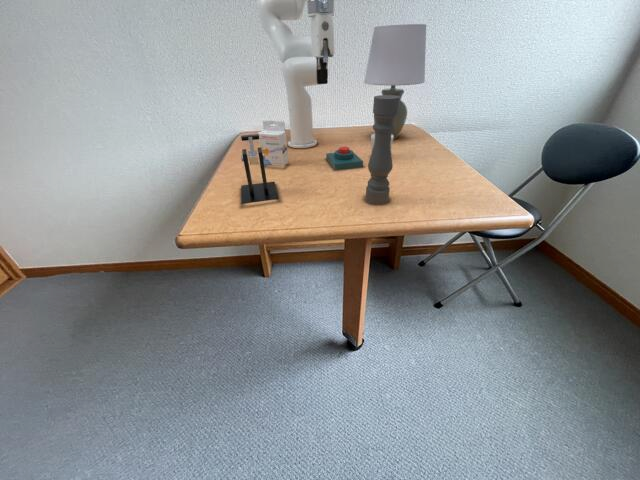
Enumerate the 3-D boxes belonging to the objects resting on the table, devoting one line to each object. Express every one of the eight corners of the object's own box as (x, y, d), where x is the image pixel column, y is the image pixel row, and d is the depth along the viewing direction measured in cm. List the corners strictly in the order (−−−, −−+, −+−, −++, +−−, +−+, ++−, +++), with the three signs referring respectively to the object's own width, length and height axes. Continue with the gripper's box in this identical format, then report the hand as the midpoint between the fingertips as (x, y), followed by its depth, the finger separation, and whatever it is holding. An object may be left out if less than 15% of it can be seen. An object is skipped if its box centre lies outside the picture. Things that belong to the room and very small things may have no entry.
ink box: (261, 167, 98) (255, 123, 90) (268, 162, 102) (262, 120, 93) (283, 169, 96) (278, 124, 87) (289, 164, 100) (285, 120, 91)
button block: (326, 159, 103) (326, 148, 101) (351, 156, 105) (352, 145, 102) (335, 170, 93) (335, 158, 91) (362, 167, 95) (363, 155, 93)
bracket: (241, 189, 83) (232, 146, 76) (274, 185, 85) (269, 142, 78) (242, 207, 74) (231, 160, 66) (279, 202, 75) (273, 155, 68)
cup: (391, 164, 96) (394, 141, 92) (368, 163, 98) (369, 140, 93) (391, 154, 105) (393, 132, 100) (369, 153, 106) (371, 132, 102)
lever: (242, 140, 80) (240, 133, 78) (259, 139, 81) (258, 131, 79) (244, 165, 73) (243, 157, 71) (263, 163, 73) (262, 155, 72)
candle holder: (363, 195, 77) (369, 95, 63) (384, 193, 78) (396, 94, 63) (368, 205, 72) (376, 99, 58) (391, 203, 73) (405, 98, 58)
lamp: (375, 128, 139) (383, 28, 116) (422, 134, 127) (442, 24, 104) (351, 140, 123) (355, 27, 100) (402, 148, 111) (420, 22, 88)
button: (337, 152, 98) (337, 147, 97) (347, 151, 99) (347, 146, 98) (340, 155, 95) (340, 150, 94) (350, 154, 96) (350, 149, 95)
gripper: (341, 6, 73) (340, 85, 83) (326, 12, 85) (327, 80, 95) (313, 6, 71) (316, 87, 82) (302, 12, 83) (306, 82, 94)
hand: (322, 83), depth 89 cm, fingers closed
